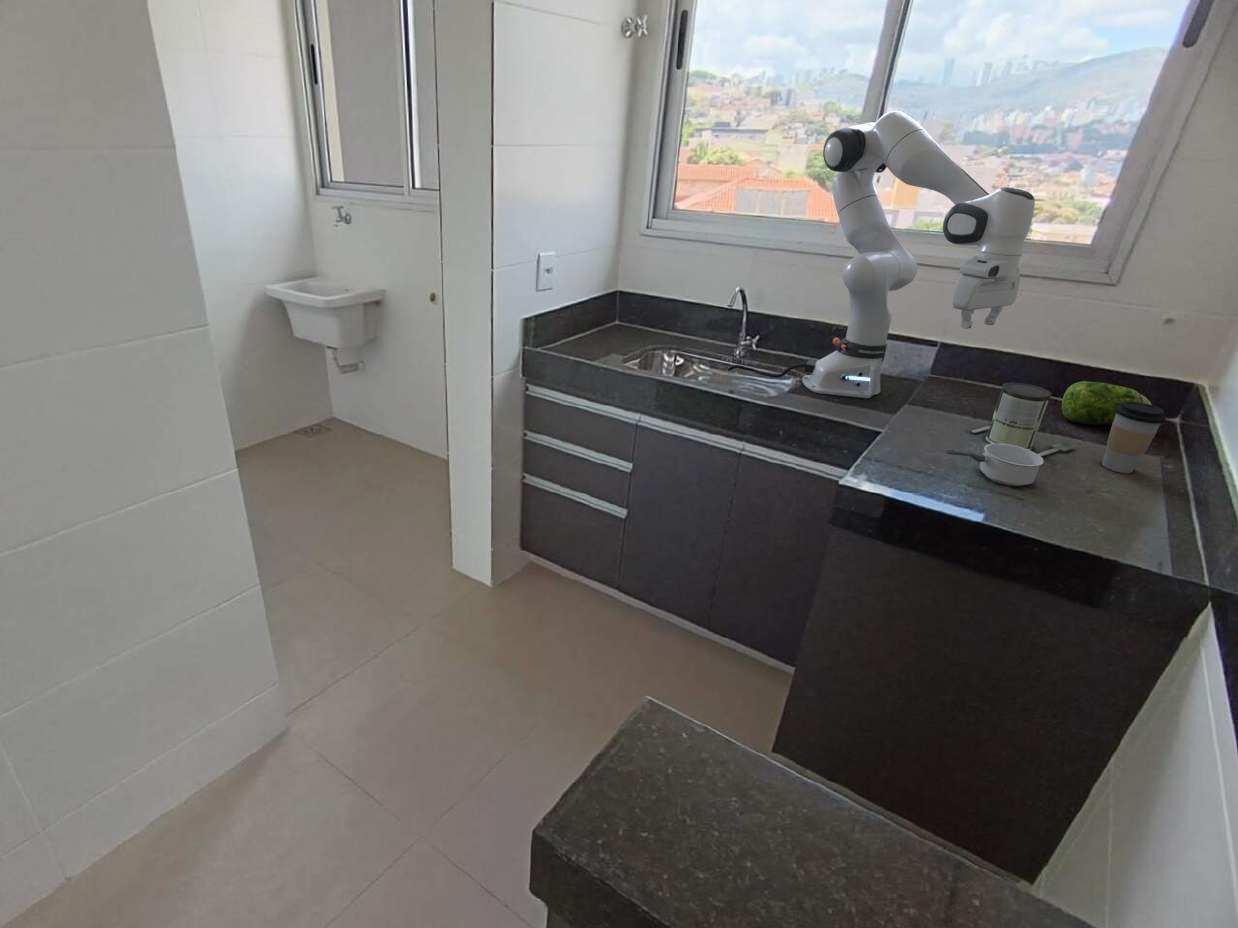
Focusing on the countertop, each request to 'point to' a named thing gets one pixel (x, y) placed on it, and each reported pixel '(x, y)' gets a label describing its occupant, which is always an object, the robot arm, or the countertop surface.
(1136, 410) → the coffee cup
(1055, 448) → the spoon
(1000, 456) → the saucepan
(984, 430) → the fork
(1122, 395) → the green oval lump
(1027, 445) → the coffee can
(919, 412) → the countertop surface
